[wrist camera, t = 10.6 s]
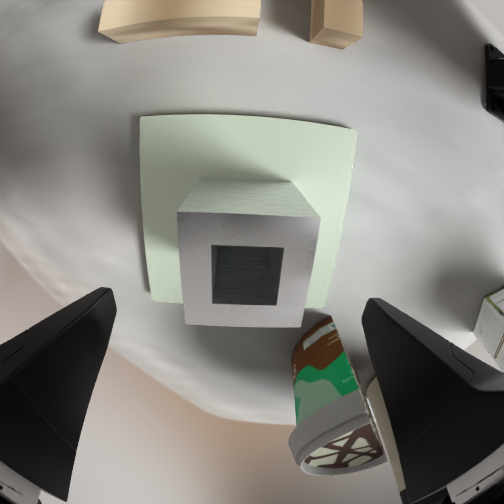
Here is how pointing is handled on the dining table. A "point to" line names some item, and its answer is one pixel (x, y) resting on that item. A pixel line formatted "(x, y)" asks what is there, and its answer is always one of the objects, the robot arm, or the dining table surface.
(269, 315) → the steel collar
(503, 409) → the robot arm
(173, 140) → the board
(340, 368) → the food container
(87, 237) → the dining table surface
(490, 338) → the syrup box
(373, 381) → the travel mug
